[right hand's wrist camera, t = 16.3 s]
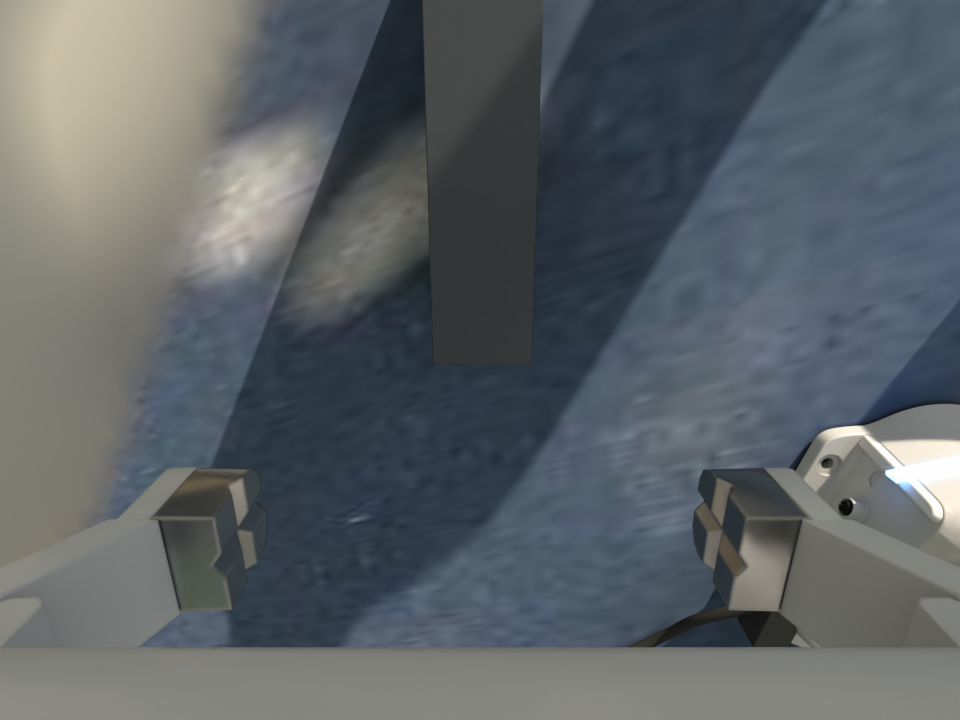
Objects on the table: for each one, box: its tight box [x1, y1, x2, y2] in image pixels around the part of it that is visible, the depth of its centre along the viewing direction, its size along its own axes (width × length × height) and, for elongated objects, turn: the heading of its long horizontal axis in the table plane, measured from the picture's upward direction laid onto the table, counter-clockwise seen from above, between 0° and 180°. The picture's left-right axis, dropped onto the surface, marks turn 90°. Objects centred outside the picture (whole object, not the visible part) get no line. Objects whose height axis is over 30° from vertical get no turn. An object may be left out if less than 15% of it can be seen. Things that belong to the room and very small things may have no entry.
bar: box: [422, 0, 543, 364], centre depth 28 cm, size 23×5×9 cm, turn 0°
